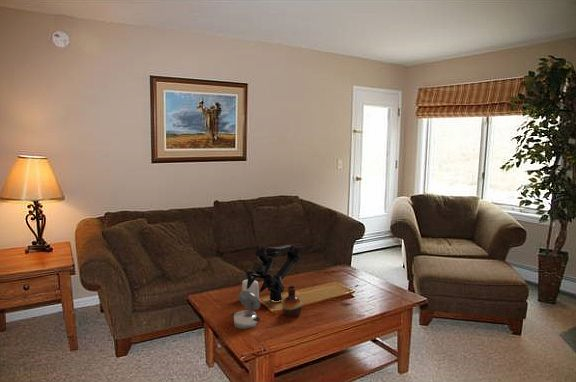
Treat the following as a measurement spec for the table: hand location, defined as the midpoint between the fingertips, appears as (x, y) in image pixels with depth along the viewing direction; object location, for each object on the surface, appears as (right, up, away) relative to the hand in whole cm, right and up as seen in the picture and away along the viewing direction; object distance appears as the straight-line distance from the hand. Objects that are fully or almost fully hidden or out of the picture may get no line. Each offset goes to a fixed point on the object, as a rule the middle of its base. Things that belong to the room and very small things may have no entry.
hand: (253, 290), depth 219 cm
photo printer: (-4, -11, +22) cm, 25 cm away
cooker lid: (-2, -4, -7) cm, 9 cm away
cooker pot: (-4, -15, -9) cm, 18 cm away
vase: (+22, -13, 0) cm, 26 cm away
